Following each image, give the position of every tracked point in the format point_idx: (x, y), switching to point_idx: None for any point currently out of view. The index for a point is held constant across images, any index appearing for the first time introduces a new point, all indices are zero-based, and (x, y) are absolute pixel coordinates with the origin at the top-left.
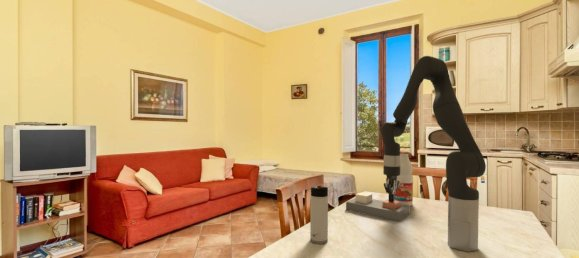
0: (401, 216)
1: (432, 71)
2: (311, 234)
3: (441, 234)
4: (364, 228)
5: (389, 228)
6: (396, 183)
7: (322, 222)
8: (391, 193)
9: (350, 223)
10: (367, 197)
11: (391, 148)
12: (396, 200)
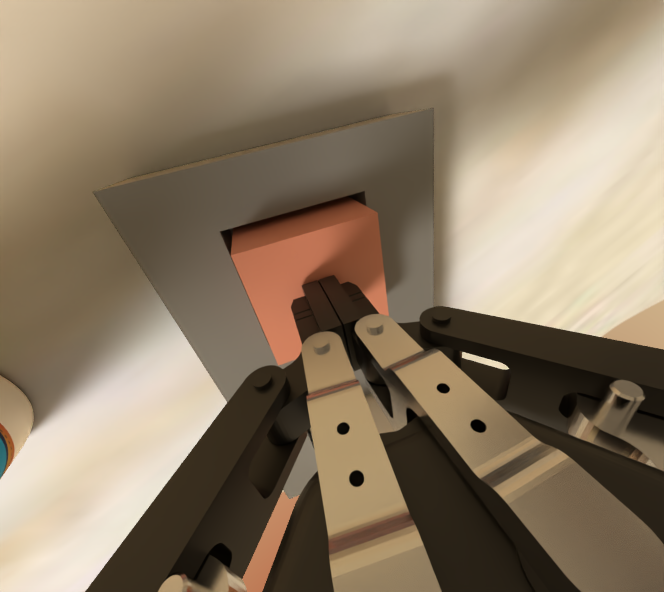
0: (333, 129)
1: None
2: None
3: None
4: (609, 167)
5: (558, 59)
6: (345, 506)
7: None
8: (442, 306)
9: (568, 258)
10: (392, 428)
11: None
12: (13, 437)
